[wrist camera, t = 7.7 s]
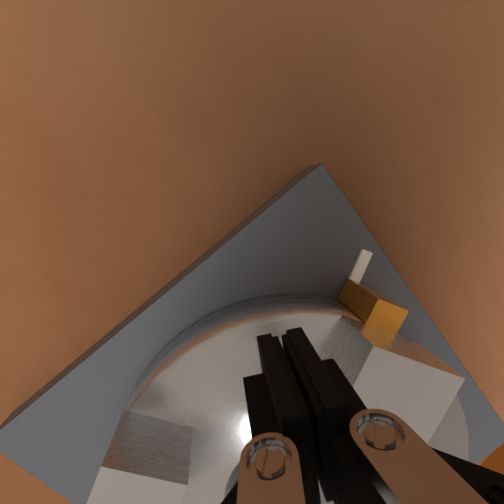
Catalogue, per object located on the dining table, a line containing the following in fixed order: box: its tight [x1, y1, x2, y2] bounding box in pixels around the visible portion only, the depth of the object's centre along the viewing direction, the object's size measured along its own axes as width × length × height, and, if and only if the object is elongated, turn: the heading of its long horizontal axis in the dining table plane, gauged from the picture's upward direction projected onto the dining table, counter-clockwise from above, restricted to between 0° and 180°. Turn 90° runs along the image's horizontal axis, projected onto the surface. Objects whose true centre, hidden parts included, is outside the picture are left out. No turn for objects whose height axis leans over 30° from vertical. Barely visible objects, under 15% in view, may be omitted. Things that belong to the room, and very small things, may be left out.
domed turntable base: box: [86, 278, 469, 504], centre depth 15 cm, size 19×18×6 cm
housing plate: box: [0, 164, 504, 504], centre depth 18 cm, size 22×22×2 cm
